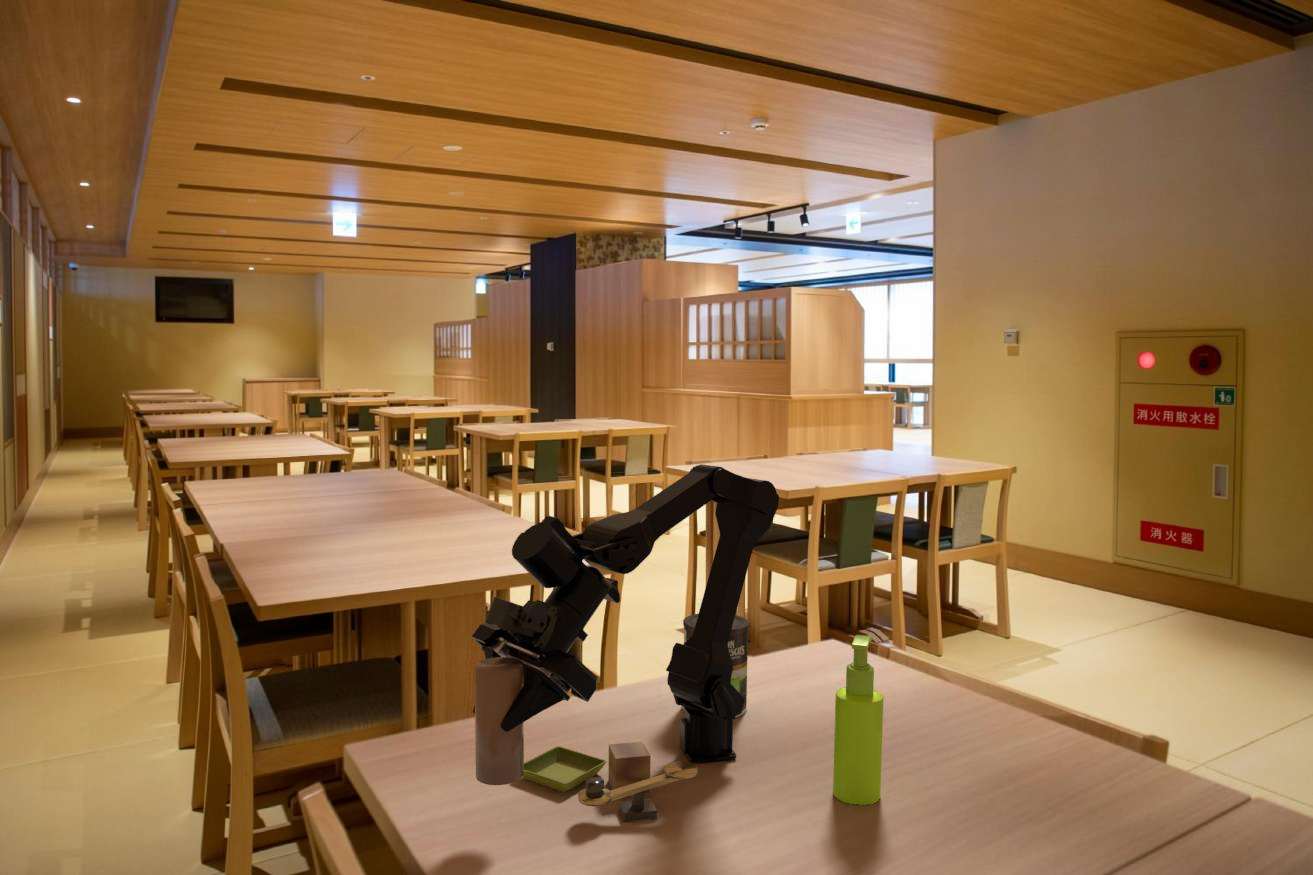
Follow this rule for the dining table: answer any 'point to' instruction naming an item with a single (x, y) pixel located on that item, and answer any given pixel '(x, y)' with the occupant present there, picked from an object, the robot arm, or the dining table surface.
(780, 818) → the dining table surface
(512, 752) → the brown cylinder
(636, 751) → the block
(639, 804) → the balance
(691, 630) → the coffee can
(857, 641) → the soap dispenser
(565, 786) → the green square dish
